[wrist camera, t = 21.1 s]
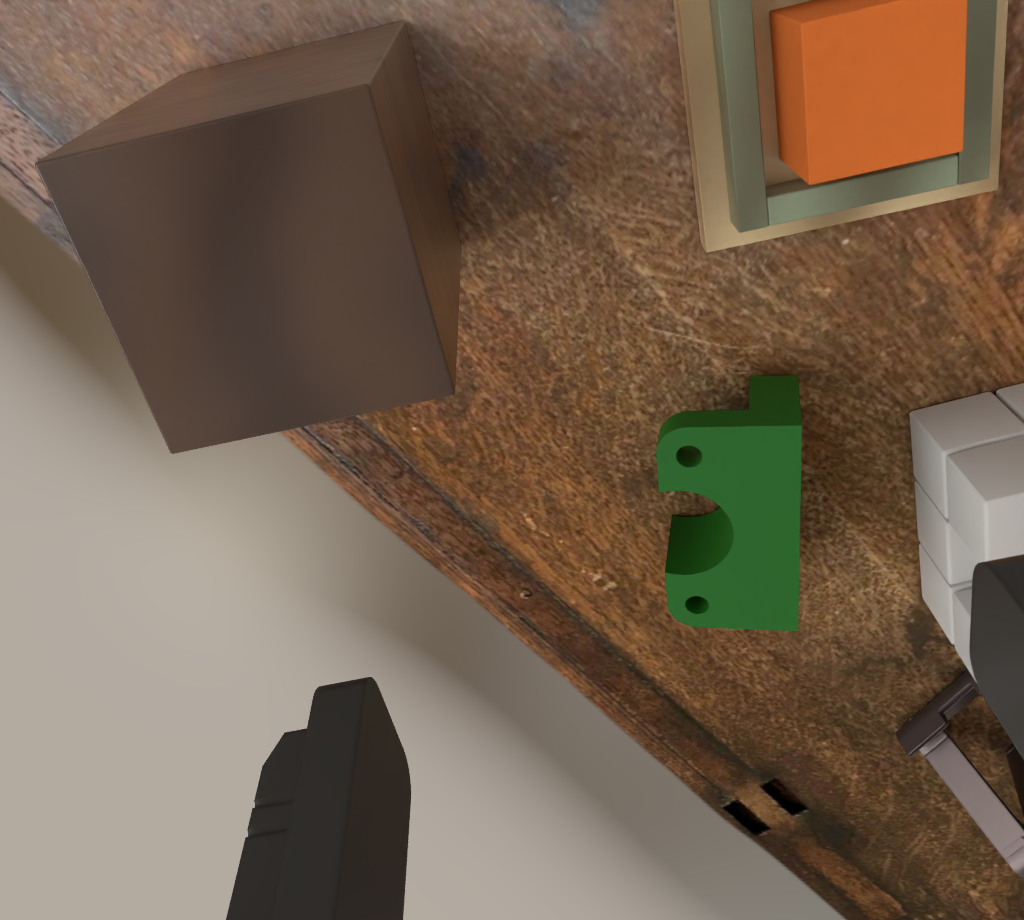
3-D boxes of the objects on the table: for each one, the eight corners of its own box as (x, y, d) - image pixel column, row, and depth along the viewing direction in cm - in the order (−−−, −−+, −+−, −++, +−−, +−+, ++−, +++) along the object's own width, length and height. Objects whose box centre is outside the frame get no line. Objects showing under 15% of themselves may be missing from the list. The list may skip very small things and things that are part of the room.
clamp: (672, 371, 48) (653, 386, 40) (793, 368, 47) (801, 382, 38) (676, 597, 50) (659, 658, 41) (794, 601, 49) (802, 665, 40)
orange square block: (779, 159, 37) (809, 185, 34) (768, 10, 35) (800, 23, 31) (918, 127, 37) (963, 151, 34) (919, -26, 34) (969, -17, 31)
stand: (260, 290, 41) (170, 455, 29) (179, 74, 36) (32, 163, 24) (462, 246, 40) (455, 395, 28) (405, 19, 36) (368, 83, 24)
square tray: (700, 244, 40) (714, 265, 38) (664, -69, 34) (678, -66, 32) (985, 182, 39) (1016, 200, 37) (1000, -152, 33) (1039, -155, 31)
